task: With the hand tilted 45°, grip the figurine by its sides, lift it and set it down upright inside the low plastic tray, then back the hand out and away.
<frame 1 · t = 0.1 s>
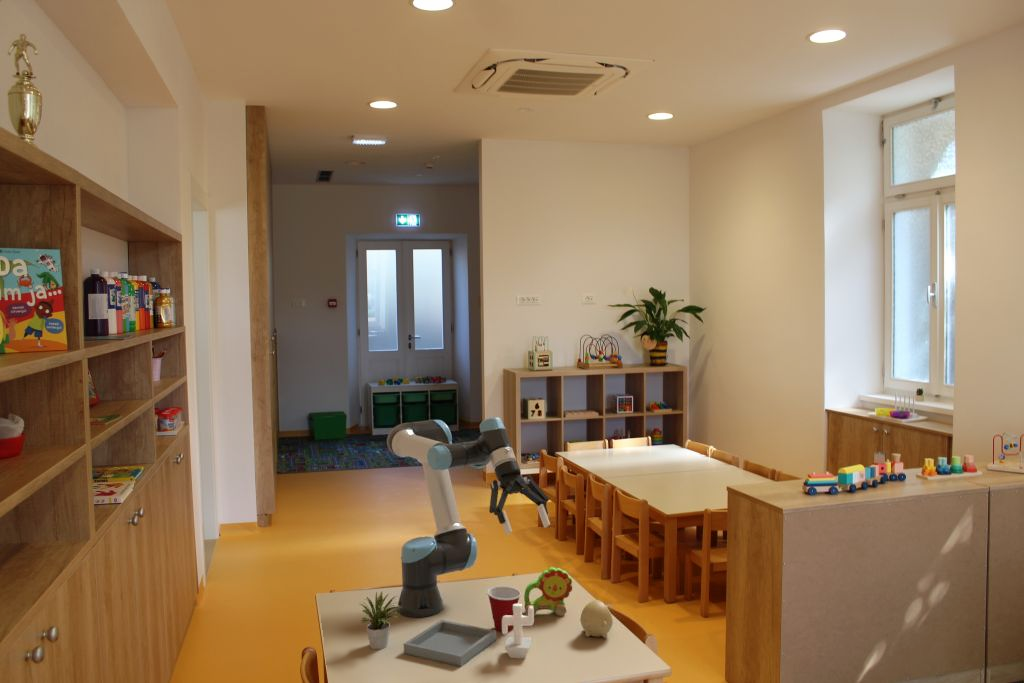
hand: (528, 529, 239), 36 cm above the table, tool tilted 35°, fingers open, 13 cm apart
tray: (450, 646, 243), on the table
figurine: (518, 655, 236), on the table
toy lion: (548, 614, 267), on the table
house plant: (377, 648, 244), on the table
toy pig: (597, 635, 249), on the table
plastic cup: (505, 629, 256), on the table
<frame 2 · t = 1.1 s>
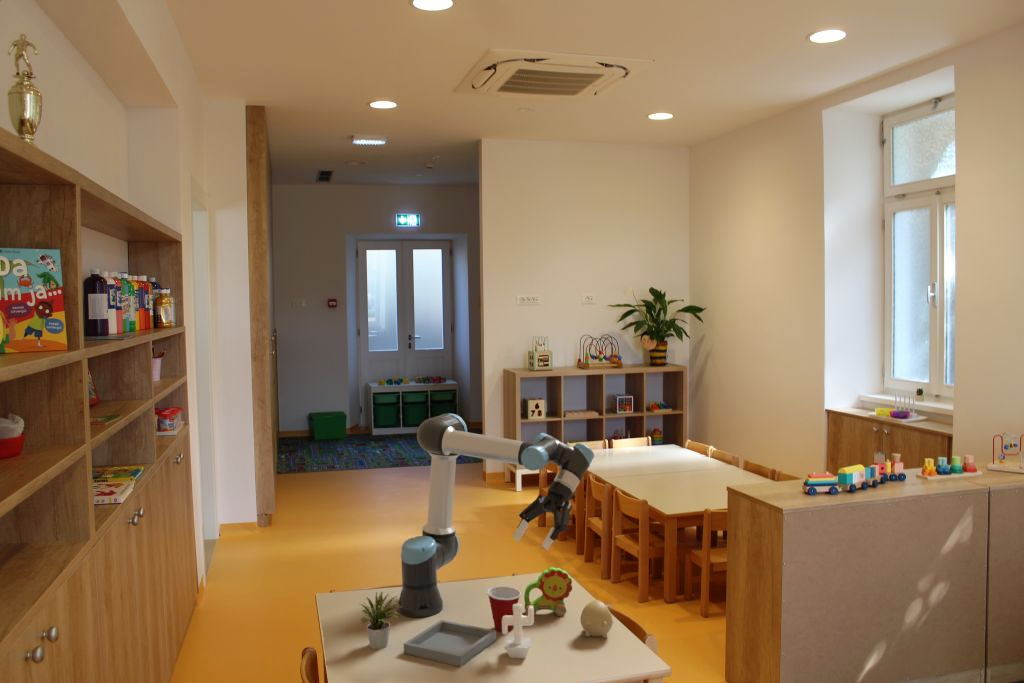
hand: (529, 543, 251), 28 cm above the table, tool tilted 45°, fingers open, 13 cm apart
nothing on the table moved.
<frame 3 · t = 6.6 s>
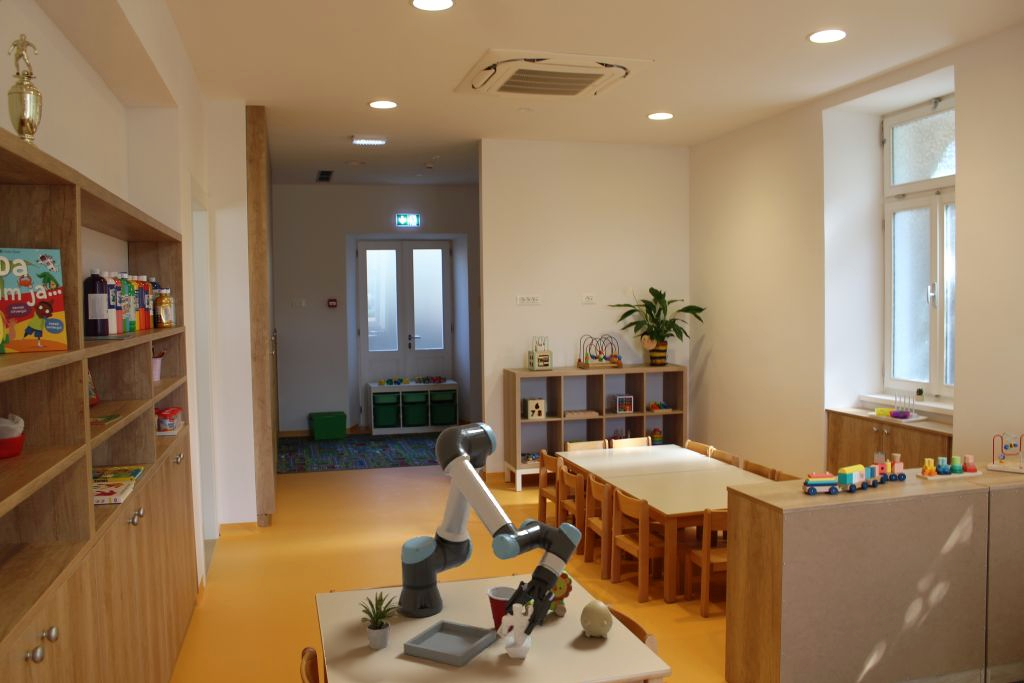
hand: (509, 639, 234), 6 cm above the table, tool tilted 45°, fingers closed on figurine, 7 cm apart
figurine: (518, 655, 236), on the table, touching gripper
everything else where it was.
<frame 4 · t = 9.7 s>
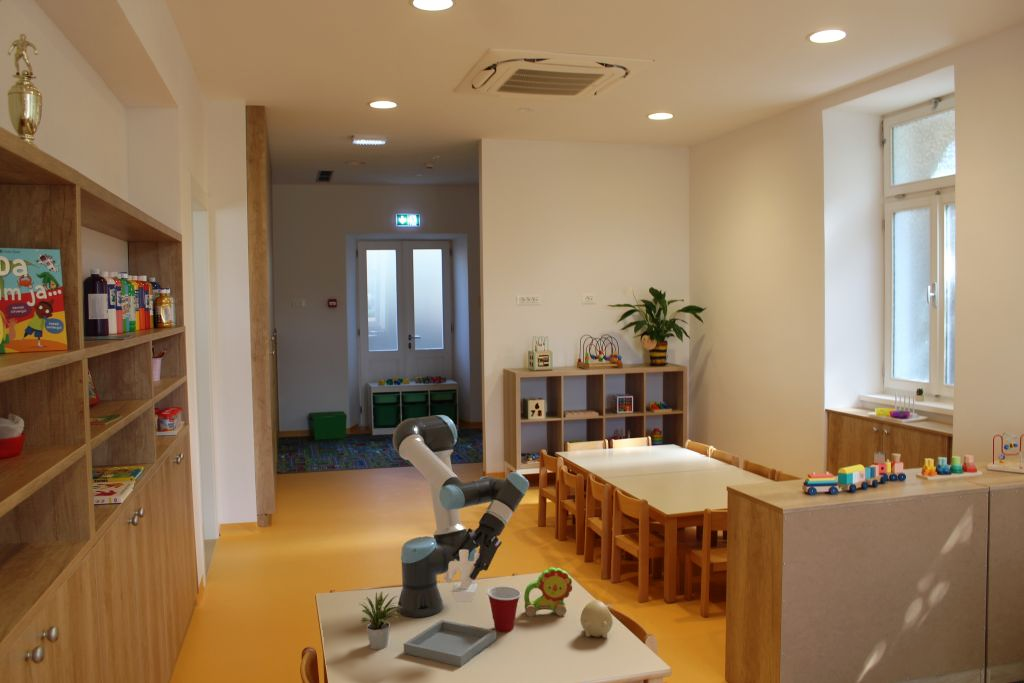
hand: (455, 584, 238), 21 cm above the table, tool tilted 45°, fingers closed on figurine, 7 cm apart
figurine: (464, 600, 240), point 15 cm above the table, touching gripper
everything else where it was.
when the fingers open (8 cm above the table, at t = 12.9 s): figurine drops 2 cm, resting on tray.
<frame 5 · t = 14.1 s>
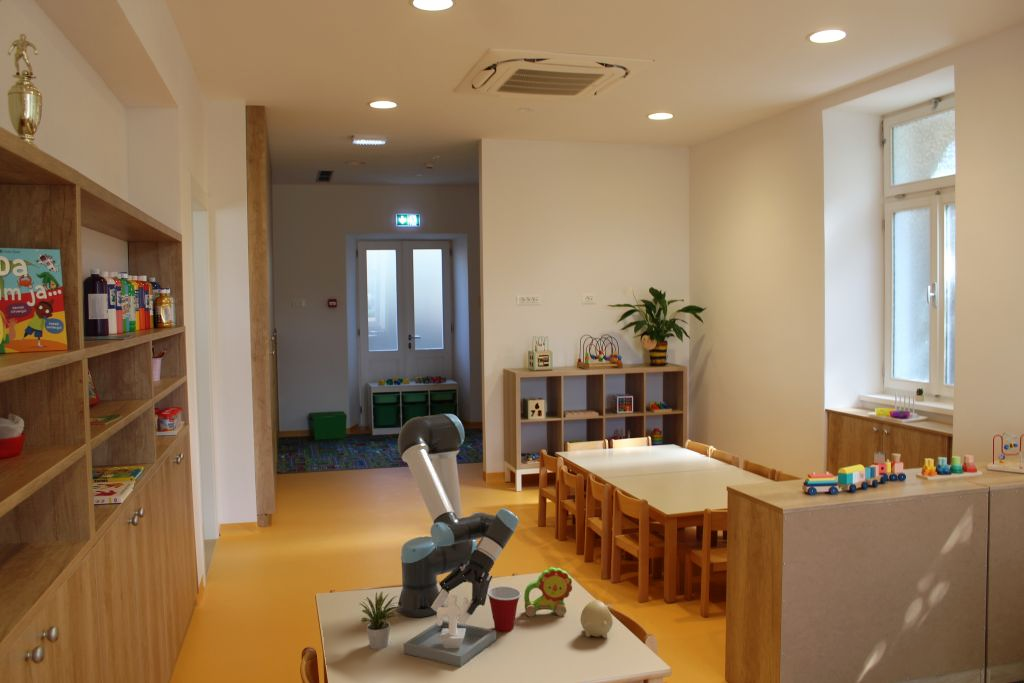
hand: (447, 616, 242), 10 cm above the table, tool tilted 45°, fingers open, 13 cm apart
figurine: (453, 645, 243), resting on tray
everything else where it was.
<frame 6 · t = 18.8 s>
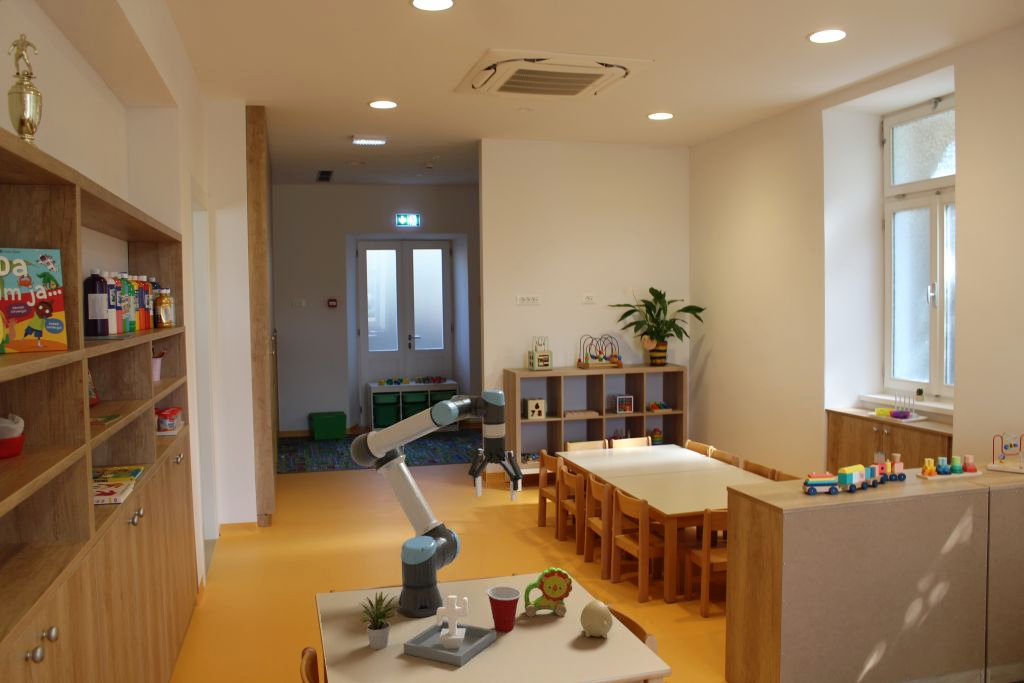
hand: (496, 498, 275), 37 cm above the table, tool pointing down, fingers open, 13 cm apart
nothing on the table moved.
at the end: figurine inside the target area on the tray (0.8 cm from its centre), point 0.4 cm above the tray's base; figurine tilted 0°; the gripper is holding nothing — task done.
